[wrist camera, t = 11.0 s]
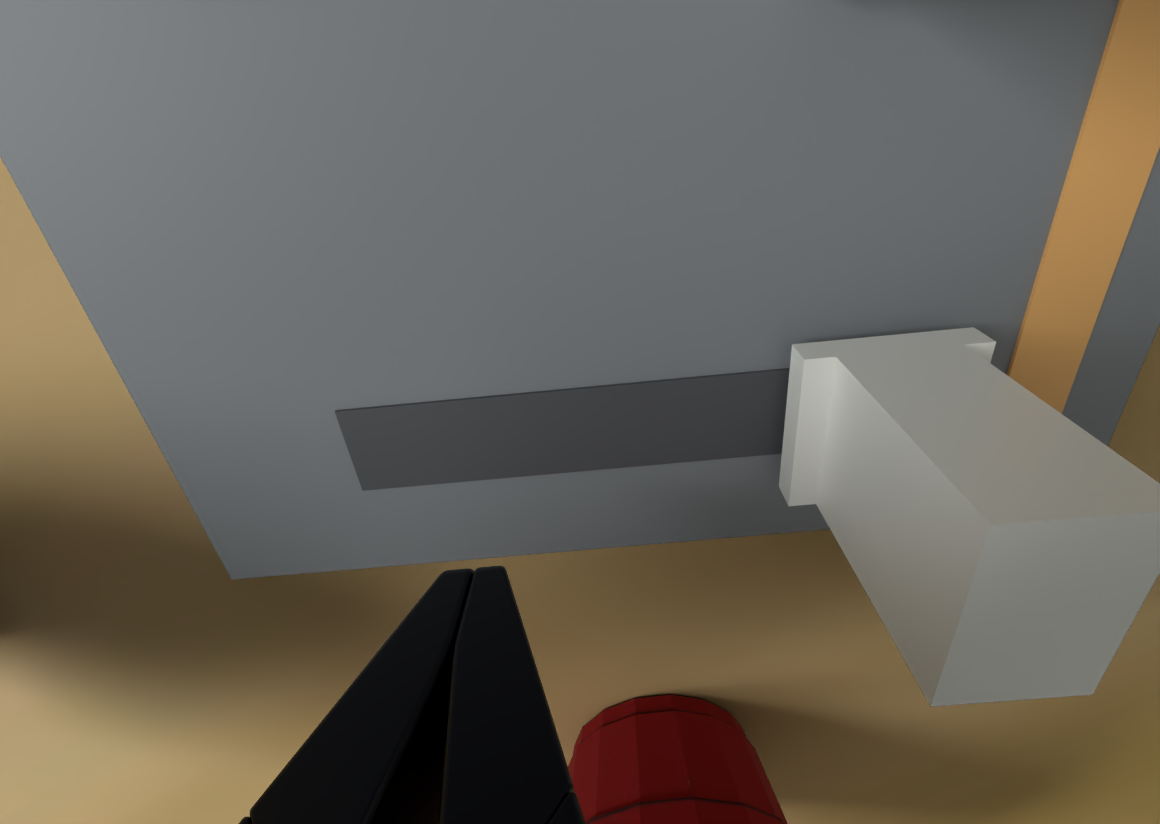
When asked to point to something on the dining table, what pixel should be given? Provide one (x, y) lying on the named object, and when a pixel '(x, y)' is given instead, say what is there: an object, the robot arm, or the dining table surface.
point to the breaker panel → (568, 242)
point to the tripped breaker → (970, 513)
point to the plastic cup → (670, 766)
